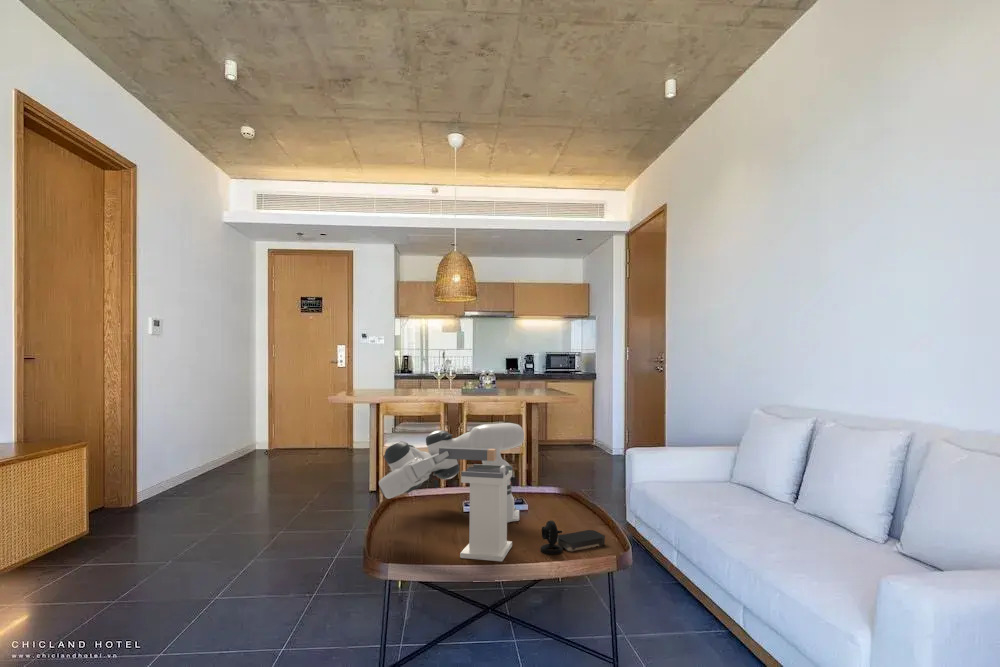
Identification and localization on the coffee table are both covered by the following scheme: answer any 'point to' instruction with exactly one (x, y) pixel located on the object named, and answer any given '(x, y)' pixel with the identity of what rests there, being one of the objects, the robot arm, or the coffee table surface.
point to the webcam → (551, 538)
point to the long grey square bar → (469, 453)
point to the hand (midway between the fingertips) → (450, 451)
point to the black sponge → (581, 540)
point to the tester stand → (487, 512)
